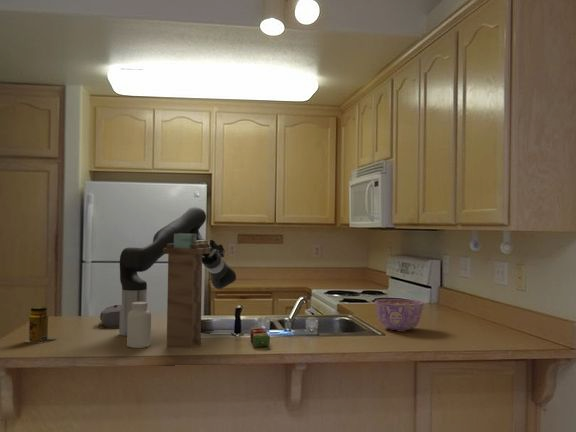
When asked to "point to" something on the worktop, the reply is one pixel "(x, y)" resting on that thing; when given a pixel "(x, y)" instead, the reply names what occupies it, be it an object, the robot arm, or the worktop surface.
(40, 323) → the condiment
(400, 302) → the bowl of food
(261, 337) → the green red box
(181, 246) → the pull block
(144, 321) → the pill bottle
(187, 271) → the brown wooden pedestal
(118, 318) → the soft grey pack
